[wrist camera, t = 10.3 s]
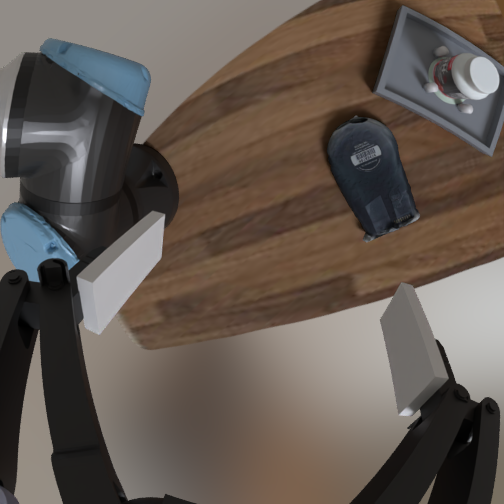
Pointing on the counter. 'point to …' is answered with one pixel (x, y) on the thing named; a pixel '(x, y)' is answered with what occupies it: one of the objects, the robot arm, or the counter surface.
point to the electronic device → (371, 176)
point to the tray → (426, 91)
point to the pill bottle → (465, 77)
